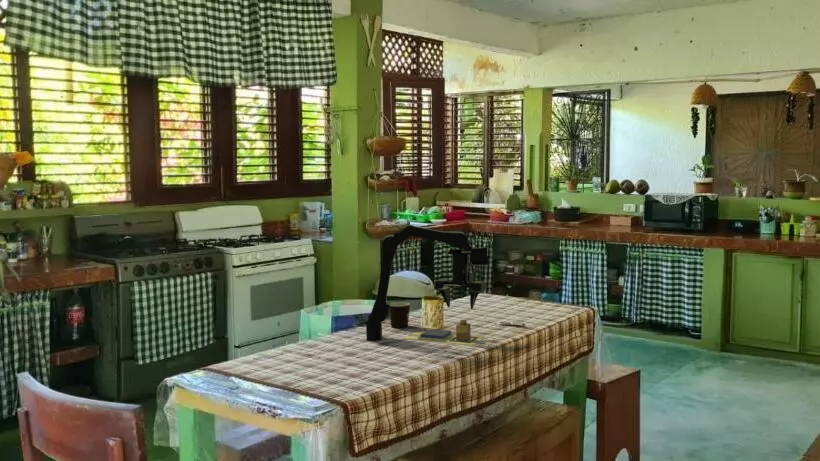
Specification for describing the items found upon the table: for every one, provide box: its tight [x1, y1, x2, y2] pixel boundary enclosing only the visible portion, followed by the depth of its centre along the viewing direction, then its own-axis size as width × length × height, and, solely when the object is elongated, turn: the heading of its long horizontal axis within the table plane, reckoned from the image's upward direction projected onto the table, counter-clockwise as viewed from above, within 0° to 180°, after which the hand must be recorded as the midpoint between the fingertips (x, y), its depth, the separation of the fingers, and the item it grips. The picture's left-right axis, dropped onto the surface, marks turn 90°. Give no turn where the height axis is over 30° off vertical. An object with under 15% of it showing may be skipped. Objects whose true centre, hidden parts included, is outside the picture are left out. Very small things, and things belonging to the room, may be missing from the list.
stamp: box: [455, 319, 472, 341], centre depth 277 cm, size 4×4×7 cm
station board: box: [401, 330, 486, 347], centre depth 280 cm, size 14×28×1 cm, turn 64°
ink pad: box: [418, 328, 455, 341], centre depth 281 cm, size 10×10×2 cm
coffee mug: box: [389, 301, 411, 330], centre depth 302 cm, size 12×9×10 cm
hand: (460, 308), depth 280 cm, fingers open, 9 cm apart
